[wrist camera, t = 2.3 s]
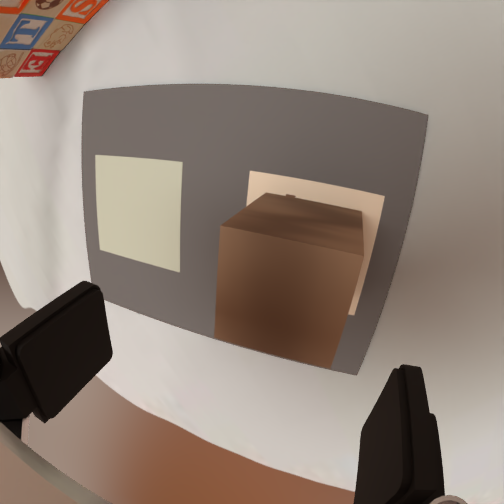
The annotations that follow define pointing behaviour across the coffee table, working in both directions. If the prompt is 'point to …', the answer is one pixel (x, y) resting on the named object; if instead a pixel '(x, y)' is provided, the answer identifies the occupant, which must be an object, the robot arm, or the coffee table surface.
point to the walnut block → (288, 277)
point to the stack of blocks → (39, 32)
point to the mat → (237, 189)
